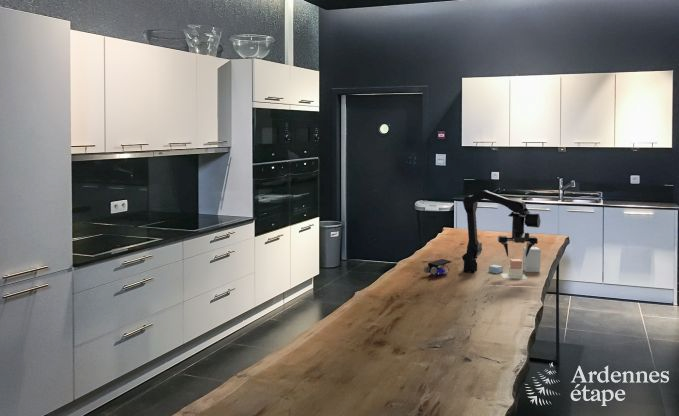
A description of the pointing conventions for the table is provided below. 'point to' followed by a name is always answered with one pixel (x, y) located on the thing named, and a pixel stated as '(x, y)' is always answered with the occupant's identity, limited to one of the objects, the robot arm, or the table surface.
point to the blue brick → (495, 269)
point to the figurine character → (434, 268)
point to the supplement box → (531, 260)
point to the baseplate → (512, 277)
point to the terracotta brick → (515, 263)
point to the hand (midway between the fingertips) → (516, 256)
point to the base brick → (515, 272)
